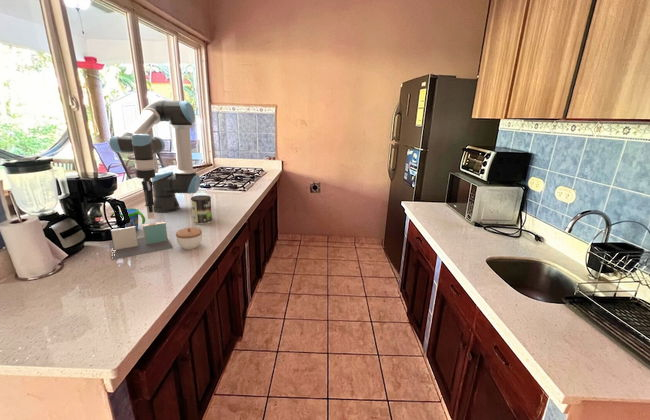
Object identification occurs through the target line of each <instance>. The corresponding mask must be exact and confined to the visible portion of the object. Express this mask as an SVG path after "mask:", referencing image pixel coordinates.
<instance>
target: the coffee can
mask: <svg viewBox="0 0 650 420" xmlns="http://www.w3.org/2000/svg"><path fill="white" fill-rule="evenodd" d="M190 201H191V202H190V203H191V211H192V212H191V213H192V223H193V224H195V225H207V224H210V223H212V222H213V211H212V196H210V195H205V194H201V195H194V196H192V197H190Z"/></svg>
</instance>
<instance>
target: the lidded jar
mask: <svg viewBox="0 0 650 420" xmlns="http://www.w3.org/2000/svg"><path fill="white" fill-rule="evenodd" d="M175 236H176V242H177V244H178V246H179V247H180V248H182V249H184V250H193V249H196V248H198V247H199V246H200V245H201V244H202V241H203V230H202V229H201V228H199V227H185V228H182V229H179V230H177V231H176V232H175Z"/></svg>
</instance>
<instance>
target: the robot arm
mask: <svg viewBox="0 0 650 420" xmlns="http://www.w3.org/2000/svg"><path fill="white" fill-rule="evenodd" d="M195 121H196V114H195V110H194V107H193V105H192V104H191V102H189V101H186V100H171V99H170V100H168V99H167V100H166V99H160V100H156V101H153V102H151V103H149V104H148V105H146V106H145V107H144V108H143V109H142V110H141V114H140V115H139V116H138V117H137V119H135V120H134V121H133V122H132V124H130V125H129V126H128V127H127V128H126V130H125V131H124V132H123V133H122V134H121V135H114V136H111V137H110V138H109V144H108V145H109V147H110V149H111V150H112V152H116V153H122V154H123V153H129V154H132V153H133V160H134V161H133V162H132V164H133V165H134V166H135V174H136V175H135V176H136V178H137V179H140V180H141V179H142V180H141V185H142V190H143V193H144V199H145V200H144V202H145V205H144V206H145V207H146V213H147V219H148V220H151V219H152V220H153V219H155V218H156V216H155V212H156V213H171V212H174V211H177V210H179V209H180V206H181V205H180V202H179V201H178V199H177V197H176V194H189V195H190V194H196V193H197V192H198V191H199V188H200V184H201V177H200V175H199V174H197V171H196V170H195V169H194V165H193V156H192V155H193V154H192V153H193V152H192V142H191V141H192V140H191V130H190V129H191V128H192V126H193V123H195ZM161 122H169V125H170V126H171V128H172V129H173V139H174V140H173V141H174V147H175V148H174V149H175V159H176V167H177V169H176V170H175V171H174V172H173V171H171V170H170V171H167V170H166V171H160V172H156V170H155V160H154V154H159V153H162V152H163V151H164V150H165V146H166V145H165V141H164V140H163V139H162V138H161V137H159V136H152V135H150V134H149V132H150V131H151V129H152V128H153V127H154V125H158V124H160V123H161Z"/></svg>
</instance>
